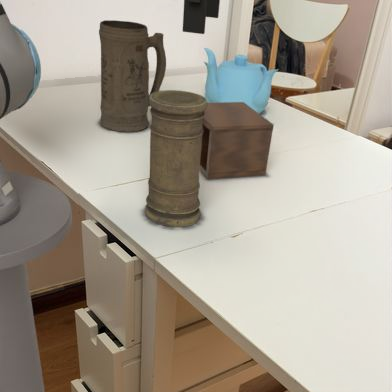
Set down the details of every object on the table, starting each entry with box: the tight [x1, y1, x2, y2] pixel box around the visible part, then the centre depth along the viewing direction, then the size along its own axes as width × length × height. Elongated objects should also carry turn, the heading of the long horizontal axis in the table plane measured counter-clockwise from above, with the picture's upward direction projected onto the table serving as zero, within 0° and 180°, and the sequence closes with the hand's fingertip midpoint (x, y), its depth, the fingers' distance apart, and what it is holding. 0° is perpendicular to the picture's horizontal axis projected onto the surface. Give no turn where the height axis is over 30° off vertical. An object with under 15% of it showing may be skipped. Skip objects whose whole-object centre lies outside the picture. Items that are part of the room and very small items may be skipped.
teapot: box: [203, 47, 279, 115], centre depth 131 cm, size 17×19×12 cm
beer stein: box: [98, 19, 167, 133], centre depth 114 cm, size 15×11×20 cm
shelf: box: [200, 102, 275, 180], centre depth 103 cm, size 12×14×10 cm
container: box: [144, 89, 207, 228], centre depth 81 cm, size 9×9×18 cm
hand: (201, 24), depth 72 cm, fingers open, 13 cm apart
